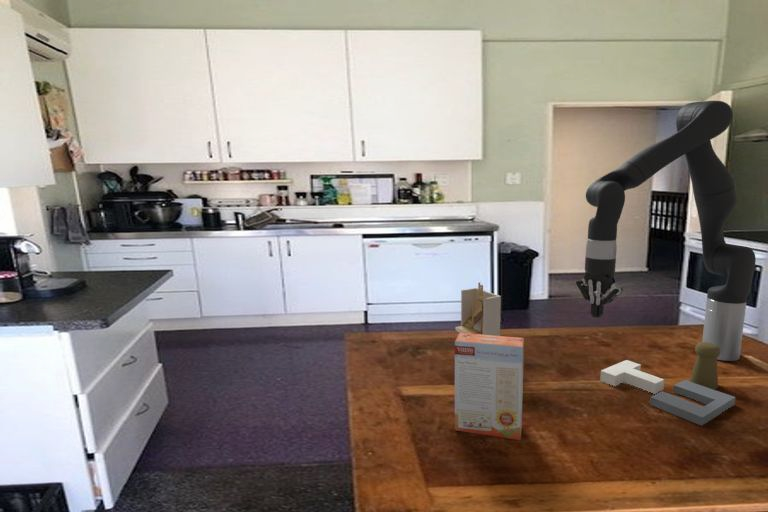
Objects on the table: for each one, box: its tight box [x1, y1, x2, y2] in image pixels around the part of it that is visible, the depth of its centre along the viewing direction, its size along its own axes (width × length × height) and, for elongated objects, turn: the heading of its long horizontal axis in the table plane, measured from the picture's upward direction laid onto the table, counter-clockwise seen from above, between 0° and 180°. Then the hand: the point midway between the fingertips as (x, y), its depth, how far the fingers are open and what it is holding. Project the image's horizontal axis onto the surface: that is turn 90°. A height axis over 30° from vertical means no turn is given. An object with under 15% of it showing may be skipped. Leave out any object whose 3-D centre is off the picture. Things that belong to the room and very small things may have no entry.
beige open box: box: [455, 282, 502, 336], centre depth 130 cm, size 8×12×26 cm
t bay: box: [649, 379, 736, 427], centre depth 106 cm, size 11×16×2 cm
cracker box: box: [454, 332, 525, 441], centre depth 97 cm, size 14×6×21 cm, turn 71°
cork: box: [689, 341, 720, 390], centre depth 116 cm, size 6×6×11 cm
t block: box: [599, 359, 665, 395], centre depth 118 cm, size 12×12×3 cm
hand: (596, 316), depth 125 cm, fingers closed
